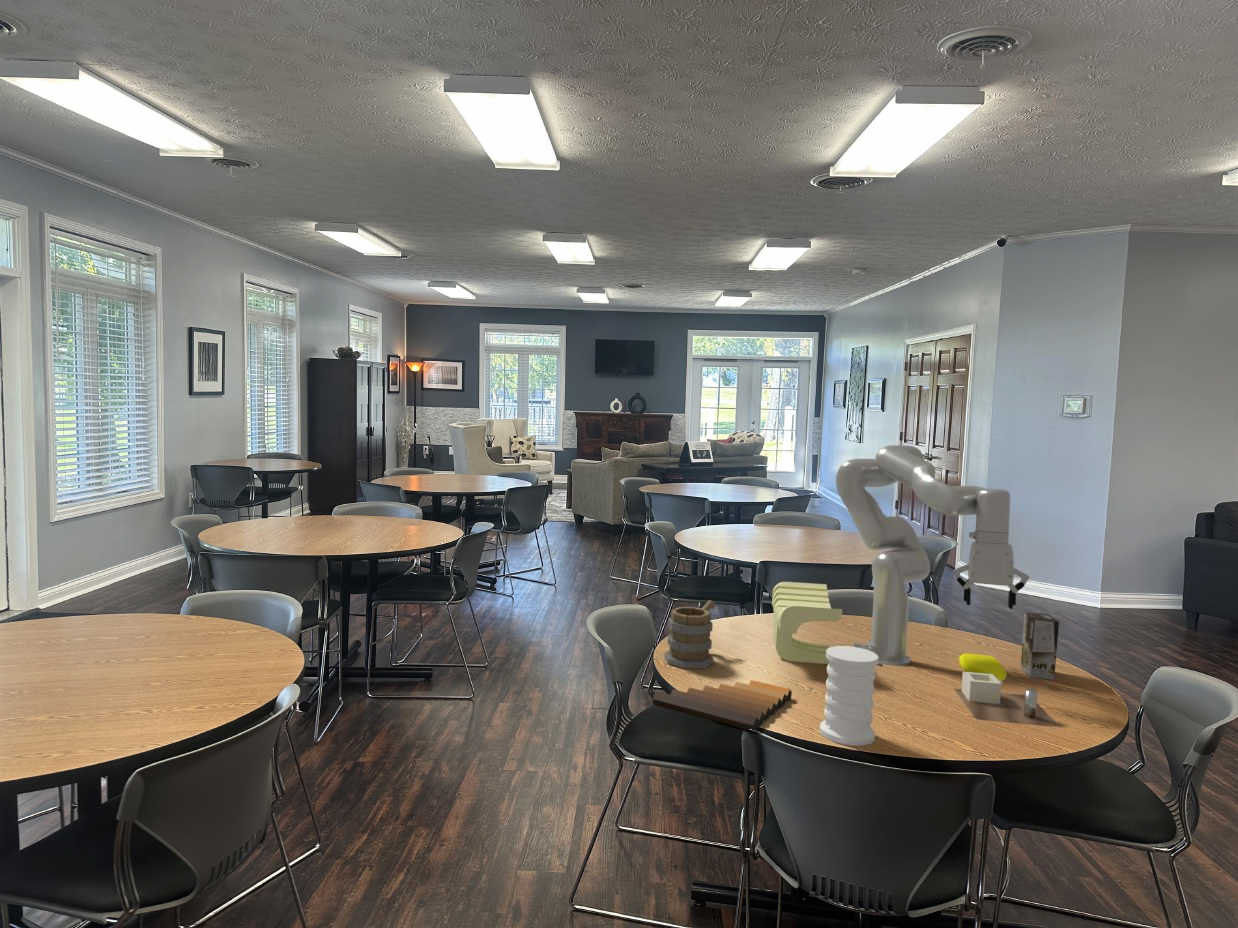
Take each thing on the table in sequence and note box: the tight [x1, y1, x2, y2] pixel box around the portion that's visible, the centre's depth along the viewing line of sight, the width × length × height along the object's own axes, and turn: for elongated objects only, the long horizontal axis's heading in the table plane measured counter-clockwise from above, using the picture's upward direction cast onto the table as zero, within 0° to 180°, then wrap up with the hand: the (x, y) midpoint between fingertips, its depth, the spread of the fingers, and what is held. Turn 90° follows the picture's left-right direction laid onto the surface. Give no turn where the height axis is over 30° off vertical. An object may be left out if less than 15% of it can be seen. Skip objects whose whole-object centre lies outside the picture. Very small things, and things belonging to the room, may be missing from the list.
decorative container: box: [819, 645, 879, 747], centre depth 170 cm, size 12×12×18 cm
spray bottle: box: [958, 653, 1008, 684], centre depth 212 cm, size 3×11×24 cm
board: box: [953, 688, 1061, 728], centre depth 187 cm, size 18×20×2 cm
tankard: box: [664, 599, 717, 670], centre depth 218 cm, size 20×13×15 cm, turn 143°
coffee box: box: [1020, 612, 1060, 681], centre depth 216 cm, size 9×6×16 cm
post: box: [1024, 688, 1038, 718], centre depth 181 cm, size 2×2×6 cm
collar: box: [960, 671, 1002, 704], centre depth 192 cm, size 7×7×5 cm
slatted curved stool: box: [771, 581, 843, 665], centre depth 225 cm, size 30×16×18 cm, turn 173°
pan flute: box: [652, 679, 793, 731], centre depth 186 cm, size 25×3×25 cm
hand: (989, 605), depth 196 cm, fingers open, 9 cm apart
